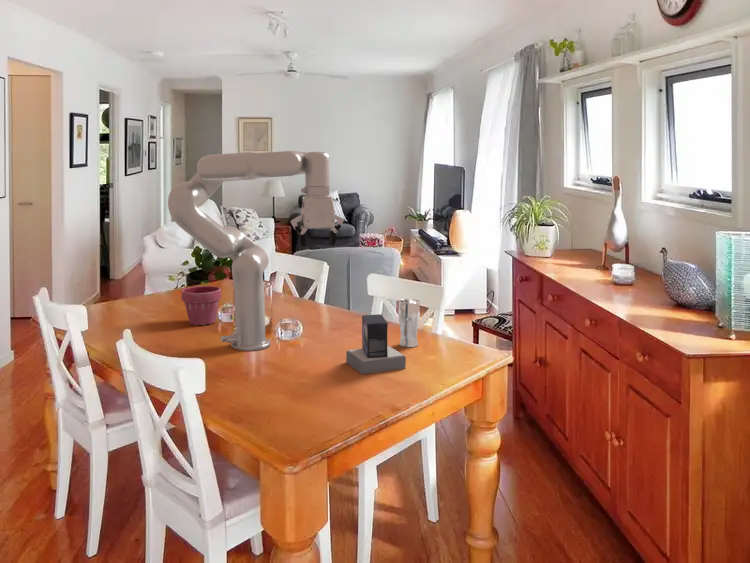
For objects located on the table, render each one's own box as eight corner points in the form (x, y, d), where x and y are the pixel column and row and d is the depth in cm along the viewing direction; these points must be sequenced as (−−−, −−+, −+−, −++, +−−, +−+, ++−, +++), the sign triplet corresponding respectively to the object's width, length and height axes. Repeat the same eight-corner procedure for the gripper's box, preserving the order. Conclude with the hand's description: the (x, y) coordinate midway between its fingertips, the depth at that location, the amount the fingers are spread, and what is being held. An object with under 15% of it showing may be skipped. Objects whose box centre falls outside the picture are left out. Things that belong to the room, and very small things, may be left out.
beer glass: (421, 343, 222) (422, 299, 219) (415, 349, 216) (416, 304, 213) (401, 341, 224) (402, 298, 222) (395, 346, 218) (396, 302, 215)
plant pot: (186, 318, 253) (184, 285, 250) (224, 317, 254) (222, 285, 252) (179, 328, 239) (178, 293, 236) (219, 327, 240) (218, 292, 238)
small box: (360, 347, 203) (361, 314, 201) (381, 346, 204) (382, 313, 202) (366, 358, 193) (366, 323, 191) (388, 357, 194) (388, 322, 192)
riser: (362, 374, 191) (362, 361, 190) (346, 362, 201) (346, 349, 201) (405, 368, 196) (405, 355, 196) (387, 356, 207) (388, 344, 206)
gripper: (294, 193, 201) (295, 249, 204) (347, 192, 208) (347, 246, 211) (287, 191, 208) (288, 245, 211) (338, 190, 215) (338, 243, 218)
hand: (317, 246), depth 211 cm, fingers open, 9 cm apart
